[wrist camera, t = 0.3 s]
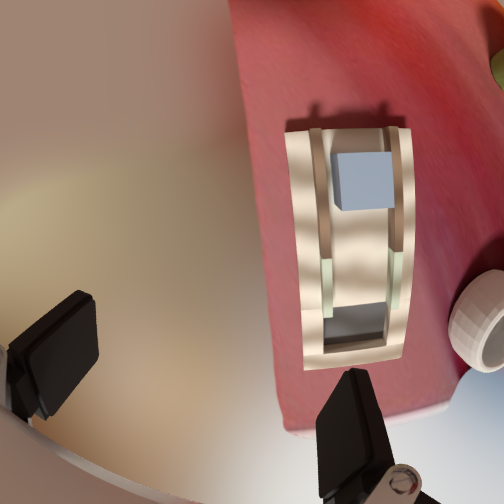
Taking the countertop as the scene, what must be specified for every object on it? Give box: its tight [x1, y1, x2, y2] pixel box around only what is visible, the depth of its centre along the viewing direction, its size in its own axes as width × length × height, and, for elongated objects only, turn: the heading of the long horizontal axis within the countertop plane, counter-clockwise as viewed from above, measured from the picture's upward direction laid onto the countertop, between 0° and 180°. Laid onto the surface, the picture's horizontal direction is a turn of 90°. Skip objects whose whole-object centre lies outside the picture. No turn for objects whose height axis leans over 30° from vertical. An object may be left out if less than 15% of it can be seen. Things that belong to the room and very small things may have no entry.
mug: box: [448, 269, 504, 373], centre depth 33 cm, size 21×17×10 cm
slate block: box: [330, 152, 395, 211], centre depth 30 cm, size 6×6×5 cm
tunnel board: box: [284, 126, 415, 370], centre depth 36 cm, size 34×16×5 cm, turn 7°
